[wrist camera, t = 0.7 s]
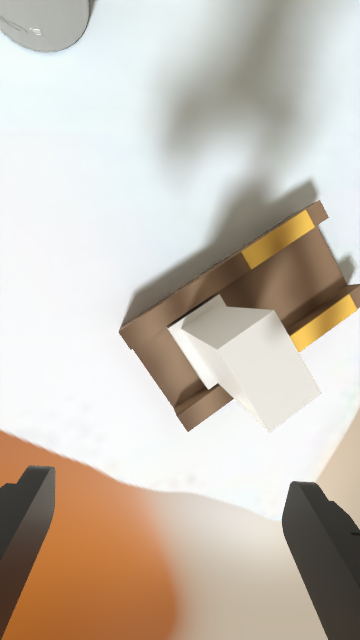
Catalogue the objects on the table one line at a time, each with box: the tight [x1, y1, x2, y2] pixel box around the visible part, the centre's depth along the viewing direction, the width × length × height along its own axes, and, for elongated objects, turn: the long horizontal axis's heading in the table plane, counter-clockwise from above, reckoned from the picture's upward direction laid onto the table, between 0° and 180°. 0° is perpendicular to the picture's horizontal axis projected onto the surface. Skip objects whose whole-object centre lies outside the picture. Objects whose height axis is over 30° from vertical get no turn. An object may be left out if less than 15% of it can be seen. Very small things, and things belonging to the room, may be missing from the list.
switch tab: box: [166, 294, 321, 433], centre depth 22 cm, size 6×7×13 cm
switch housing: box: [119, 200, 360, 432], centre depth 29 cm, size 24×12×4 cm, turn 123°
